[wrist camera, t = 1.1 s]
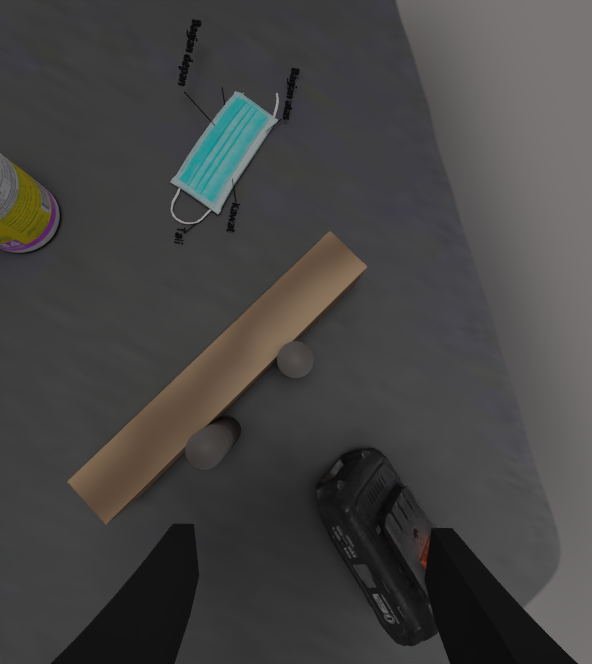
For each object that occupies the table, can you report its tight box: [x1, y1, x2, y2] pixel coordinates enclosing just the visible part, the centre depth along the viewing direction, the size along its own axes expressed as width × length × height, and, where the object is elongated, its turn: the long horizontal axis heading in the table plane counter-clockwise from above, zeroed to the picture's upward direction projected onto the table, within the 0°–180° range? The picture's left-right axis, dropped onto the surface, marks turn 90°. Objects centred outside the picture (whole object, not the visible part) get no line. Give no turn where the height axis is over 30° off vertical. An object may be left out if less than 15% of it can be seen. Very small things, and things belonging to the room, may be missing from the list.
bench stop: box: [68, 231, 367, 524], centre depth 27 cm, size 6×26×8 cm, turn 135°
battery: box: [316, 448, 438, 646], centre depth 26 cm, size 12×8×7 cm
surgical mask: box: [171, 19, 299, 244], centre depth 32 cm, size 21×4×10 cm
